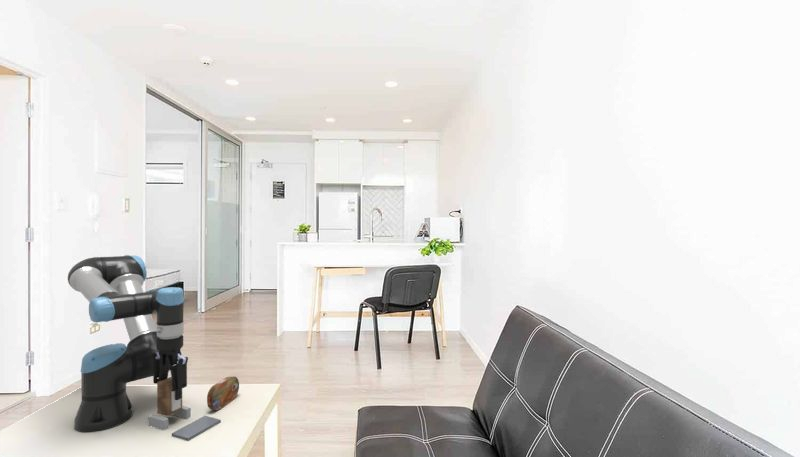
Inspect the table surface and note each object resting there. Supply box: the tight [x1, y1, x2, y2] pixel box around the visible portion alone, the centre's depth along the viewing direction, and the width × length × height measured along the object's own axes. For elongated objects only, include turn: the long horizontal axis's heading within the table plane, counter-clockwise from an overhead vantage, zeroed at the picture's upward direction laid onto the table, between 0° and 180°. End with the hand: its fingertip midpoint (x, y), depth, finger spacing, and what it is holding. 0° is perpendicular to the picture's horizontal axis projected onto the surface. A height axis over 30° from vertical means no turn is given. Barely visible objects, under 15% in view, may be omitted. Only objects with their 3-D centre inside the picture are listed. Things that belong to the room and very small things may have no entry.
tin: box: [206, 376, 240, 411], centre depth 141 cm, size 15×3×8 cm, turn 168°
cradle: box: [148, 405, 192, 431], centre depth 128 cm, size 7×10×3 cm
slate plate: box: [171, 415, 222, 442], centre depth 124 cm, size 7×12×1 cm, turn 157°
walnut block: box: [156, 376, 183, 417], centre depth 128 cm, size 5×5×10 cm
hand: (169, 407), depth 128 cm, fingers closed on walnut block, 5 cm apart
